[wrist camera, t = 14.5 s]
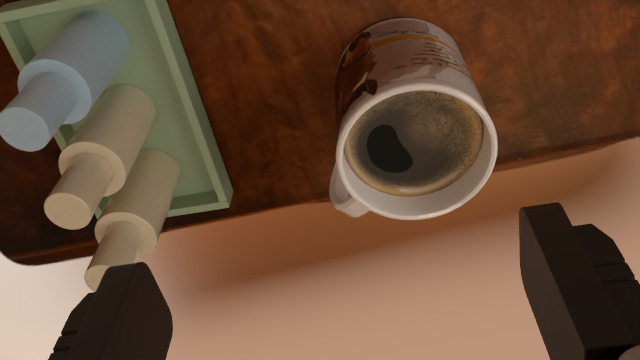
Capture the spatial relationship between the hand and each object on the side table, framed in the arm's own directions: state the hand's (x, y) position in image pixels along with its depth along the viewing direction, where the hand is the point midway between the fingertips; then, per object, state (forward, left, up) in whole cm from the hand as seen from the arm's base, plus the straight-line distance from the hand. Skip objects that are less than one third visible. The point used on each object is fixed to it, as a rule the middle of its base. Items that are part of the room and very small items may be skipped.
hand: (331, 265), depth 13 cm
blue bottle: (+4, -18, -32) cm, 36 cm away
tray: (+10, -18, -32) cm, 38 cm away
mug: (+12, +2, -32) cm, 35 cm away
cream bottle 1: (+10, -18, -32) cm, 38 cm away
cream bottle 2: (+16, -18, -32) cm, 39 cm away
